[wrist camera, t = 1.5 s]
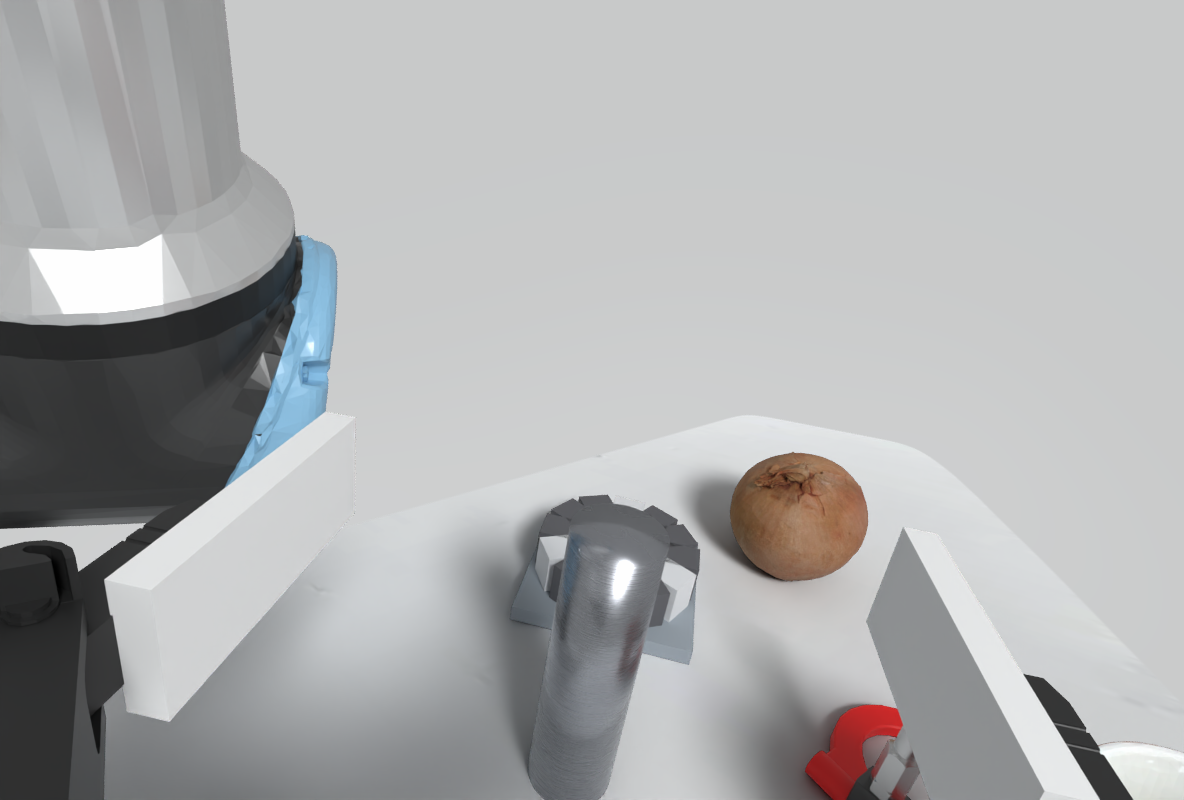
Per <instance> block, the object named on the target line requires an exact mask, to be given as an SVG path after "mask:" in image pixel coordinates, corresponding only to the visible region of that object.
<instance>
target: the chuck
mask: <svg viewBox="0 0 1184 800" xmlns="http://www.w3.org/2000/svg"><path fill="white" fill-rule="evenodd" d="M604 503H611V504H621V505H626V506H630V507H633V508H636V509H639V510H641V511H643V512H645V513H647V514H649V515H650V516H652V517H654V518H655V519H656V520H657V521H659V522H660V523H661V524H662V526H663V527H664V528H665V530H666V531H667V533H668V535H669V539H670V545H669V550H668V553H667V557H666V561H665V565H664V569H663V573H662V577H661V581H660V585H659V589H658V593H657V596H656V600H655V604H654V608H653V612H652V616H651V620H650V624H649V628H648V632H647V636H646V640H645V643H644V647H643V651H642V653H646V654H649V655H653V656H657V657H661V658H665V659H669V660H673V661H677V662H681V663H685V664H689V662H690V659H691V656H692V652H693V633H694V612H695V592H696V579H697V576H698V572H699V561H700V549H698V542H696V541H695V539H694V538H693V537H692V535H691V534H690V533H689V531H688V530H687V529H686V527H685V526H684V525H683V524H681V525H677V521H678V520H677V519H675V518H674V517H672V516H670V515H669V514H667V513H665V512H663V511H662V510H660V509H658V508H656V507H655V506H653V505H652V506H650V507H649V508H647V509H646V510H644V506H645V502H641V501H637V500H633V499H628V498H624V497H620V496H616V495H615V499H614V503H613V502H612V501H611V499H610V498H609V496H608V495H598V496H583V497H579V501H576V500H574V499H571V500H569V501H567V502H565V503H563V504H561V505H559V506H557V507H555V508H553V509H551V514H548V513H547V516H546V518H545V520H544V523H543V525H542V527H541V530H540V532H539V539H538V545H537V547H536V550H535V552H534V555H533V557H532V559H531V562H530V564H529V566H528V569H527V571H526V574H525V576H524V578H523V581H522V583H521V585H520V588H519V590H518V593H517V595H516V597H515V600H514V602H513V605H512V608H511V615H510V619H512V620H516V621H520V622H524V623H528V624H532V625H535V626H539V627H543V628H547V629H551V630H552V624H553V619H554V613H555V607H556V602H557V596H558V590H559V585H560V579H561V573H562V567H563V562H564V556H565V550H566V545H567V539H568V533H569V528H570V523H571V520H572V518H573V516H574V515H575V514H576V513H577V512H578V511H580V510H581V509H583V508H585V507H588V506H591V505H595V504H604Z"/></svg>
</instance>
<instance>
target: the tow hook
mask: <svg viewBox="0 0 1184 800" xmlns="http://www.w3.org/2000/svg"><path fill="white" fill-rule="evenodd" d="M876 735H890V736H894V737H896V738H891V739H889V740H888V741H887V743H886V745H885V747H884V749H883V751H882V753H881V754H880V756H879V758H878V760H877V762H876V764H875V766H872V767H871V768H869V769H867V767H866V764H865V761H864V758H863V752H862V744H863V742H864V741H865V740H866V739H868V738H870V737H873V736H876ZM805 772H806V773H807V774H808V775H809V776H810V777H811V778H812V779H813V780H814V781H815V782H816V783H817V784H818V785H819V786H820V787H821V788H822V789H823V790H824V791H825V792H826V793H827V794H828V795H829V796H830V797H831V798H832V799H833V800H911V799H910V798H909V797H908V796H907V795H906V794H907V793H908V792H909V791H910V789H911V787H912V785H913V784H914V782H915V780H916V779H917V777H918V775H919V773H920V771H919V768H918V765H917V762H916V759H915V757H914V754H913V751H912V748H911V745H910V742H909V740H908V737H907V734H906V731H905V728H904V726H903V723H902V720H901V717H900V714H899V712H898V709H896V708H891V707H887V706H883V705H862V706H858V707H855V708H851V709H849V710H848V711H847V712H846V713H844V714H843V715H842V716H841V717H840V718H839V720H838V722H837V724H836V726H835V728H834V731H833V733H832V735H831V737H830V751H829V752H828V753H825V752H824V751H820V752H818V753H817V754H816V755H815V756H814V757H813V758H812V759H811V760H810V762H809V763H808V765H807V767H806V769H805Z"/></svg>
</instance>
